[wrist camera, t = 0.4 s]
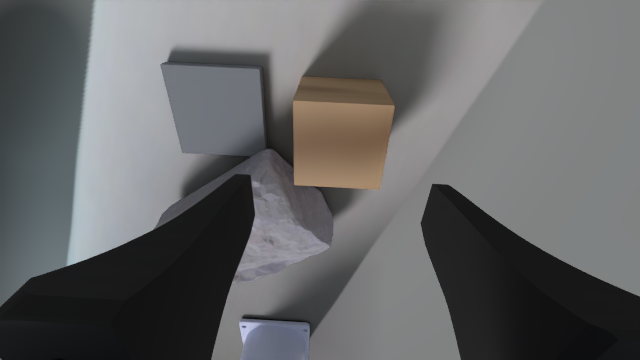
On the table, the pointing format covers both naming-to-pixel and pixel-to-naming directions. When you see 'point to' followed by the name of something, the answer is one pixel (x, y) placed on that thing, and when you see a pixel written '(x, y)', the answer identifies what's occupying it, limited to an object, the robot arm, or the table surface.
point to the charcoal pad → (217, 107)
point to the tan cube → (341, 132)
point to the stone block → (272, 216)
